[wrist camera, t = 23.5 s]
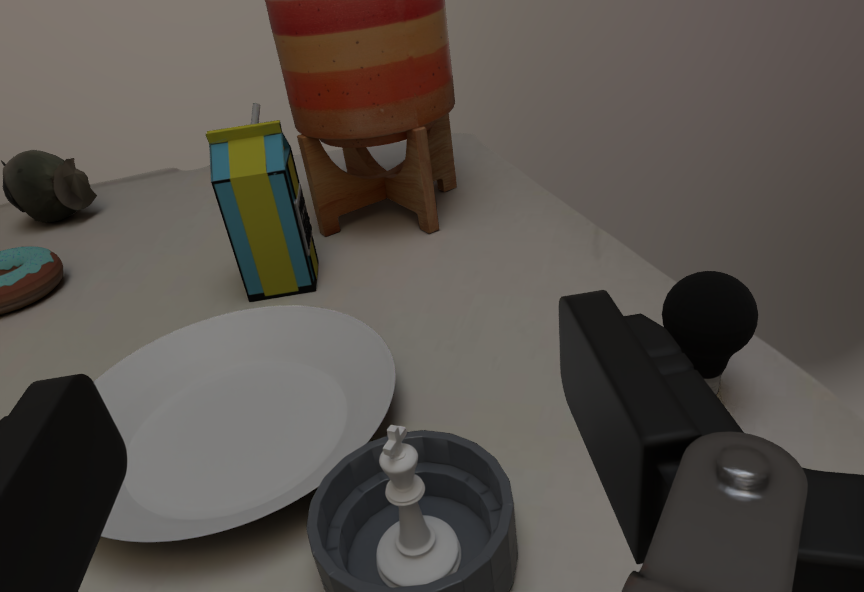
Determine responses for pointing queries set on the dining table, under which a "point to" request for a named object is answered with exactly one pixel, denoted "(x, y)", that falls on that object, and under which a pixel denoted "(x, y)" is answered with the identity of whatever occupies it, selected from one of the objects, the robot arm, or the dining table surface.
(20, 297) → the donut
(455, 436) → the grey round container
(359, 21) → the planter
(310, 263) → the carton
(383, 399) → the white plate
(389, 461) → the chess piece
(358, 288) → the dining table surface
